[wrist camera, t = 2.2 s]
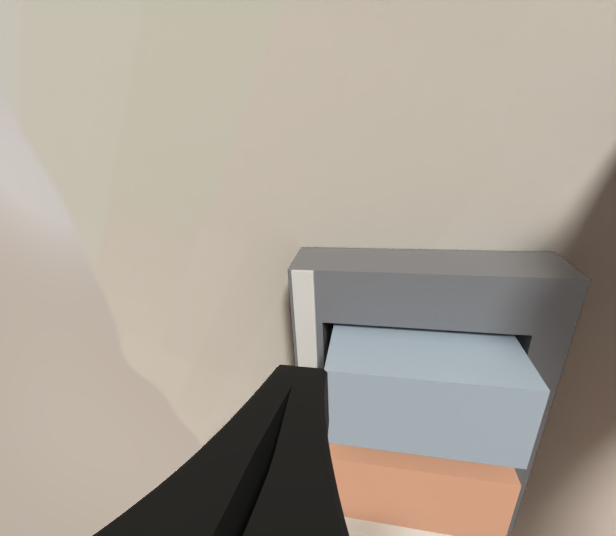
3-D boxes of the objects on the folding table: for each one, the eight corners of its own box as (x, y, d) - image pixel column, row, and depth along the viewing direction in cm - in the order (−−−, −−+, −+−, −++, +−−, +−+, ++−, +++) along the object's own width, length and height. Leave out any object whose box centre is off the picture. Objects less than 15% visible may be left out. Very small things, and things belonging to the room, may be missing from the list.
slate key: (511, 330, 15) (550, 391, 12) (496, 398, 17) (526, 469, 13) (334, 319, 17) (323, 370, 13) (336, 382, 18) (326, 442, 15)
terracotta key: (492, 413, 17) (521, 486, 14) (480, 466, 19) (503, 544, 15) (336, 396, 19) (327, 458, 15) (337, 447, 20) (329, 514, 17)
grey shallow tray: (553, 251, 16) (593, 281, 13) (485, 520, 23) (500, 576, 20) (301, 247, 18) (286, 271, 15) (316, 492, 26) (308, 539, 23)
